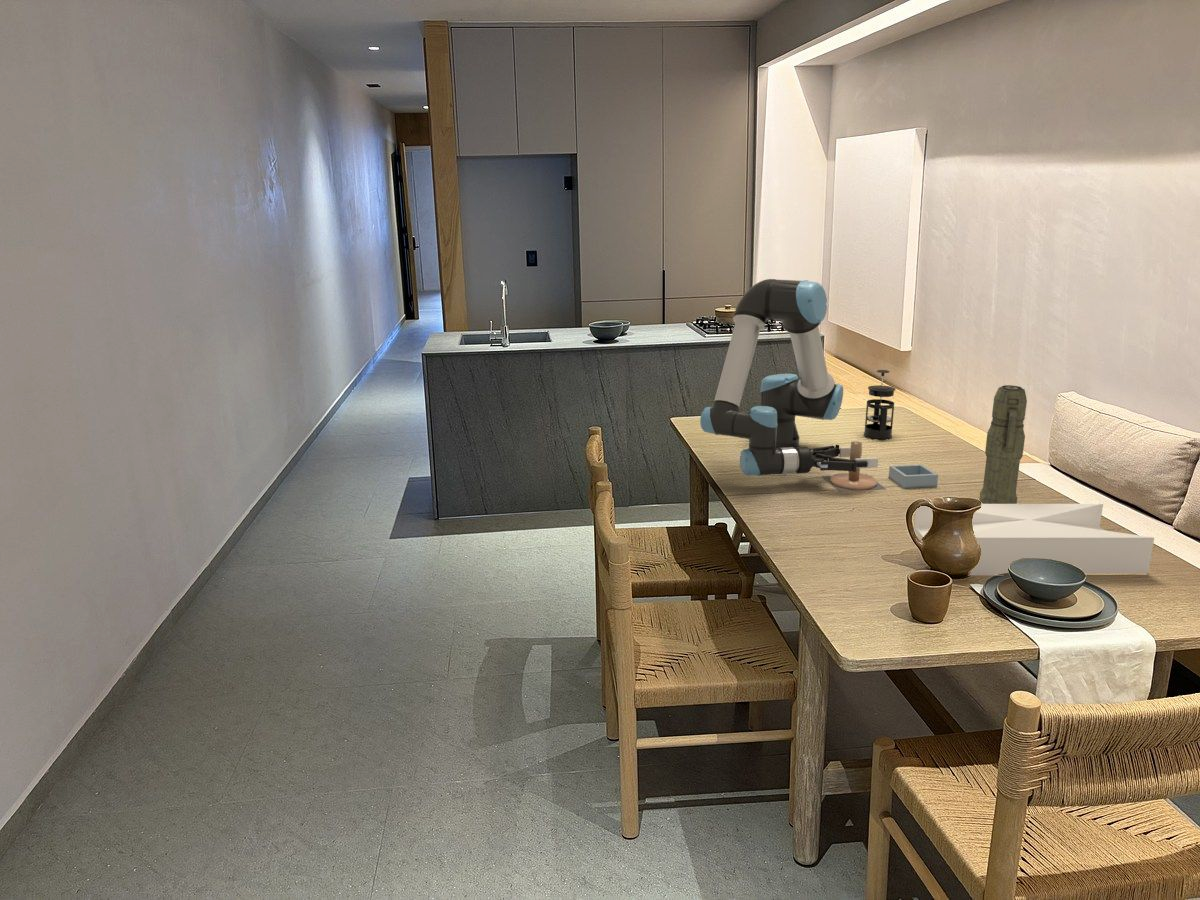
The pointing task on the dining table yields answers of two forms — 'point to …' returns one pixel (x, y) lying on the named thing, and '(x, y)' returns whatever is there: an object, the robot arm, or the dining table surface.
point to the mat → (827, 478)
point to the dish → (913, 476)
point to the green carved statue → (1004, 446)
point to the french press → (881, 429)
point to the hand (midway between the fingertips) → (869, 456)
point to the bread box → (1050, 538)
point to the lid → (854, 474)
